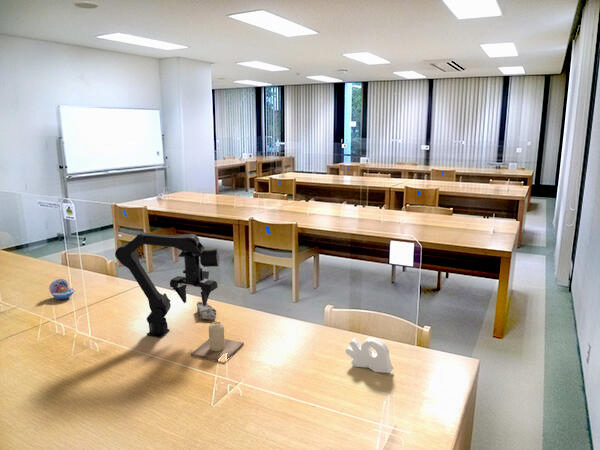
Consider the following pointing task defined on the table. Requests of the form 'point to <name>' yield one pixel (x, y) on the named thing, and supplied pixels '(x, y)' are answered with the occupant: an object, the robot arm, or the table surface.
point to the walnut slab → (206, 353)
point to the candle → (216, 336)
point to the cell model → (60, 289)
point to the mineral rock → (206, 311)
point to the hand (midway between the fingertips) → (194, 304)
